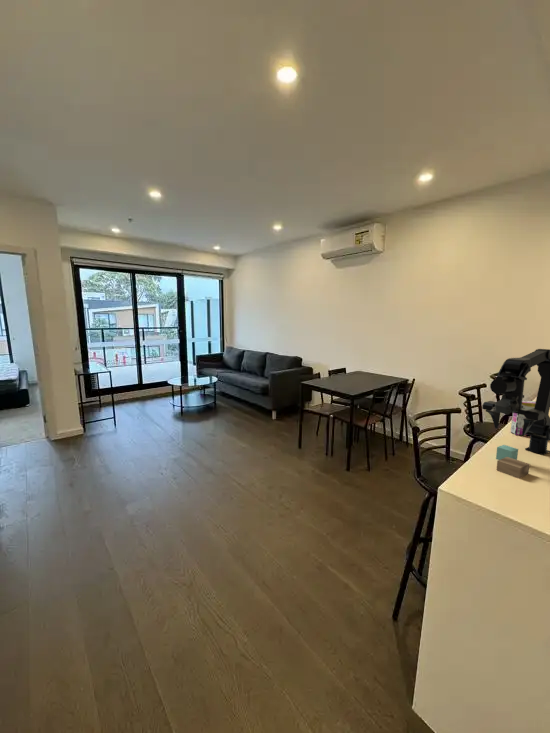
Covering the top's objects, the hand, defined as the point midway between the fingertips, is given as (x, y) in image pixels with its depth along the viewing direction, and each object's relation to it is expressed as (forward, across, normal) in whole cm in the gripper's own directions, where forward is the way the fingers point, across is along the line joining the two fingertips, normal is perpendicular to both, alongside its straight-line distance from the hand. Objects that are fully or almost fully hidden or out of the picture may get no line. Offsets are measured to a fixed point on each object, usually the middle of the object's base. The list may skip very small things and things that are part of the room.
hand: (509, 431), depth 123 cm
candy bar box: (+12, -11, +42) cm, 45 cm away
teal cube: (+12, 0, 0) cm, 12 cm away
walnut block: (+12, +6, -10) cm, 17 cm away
